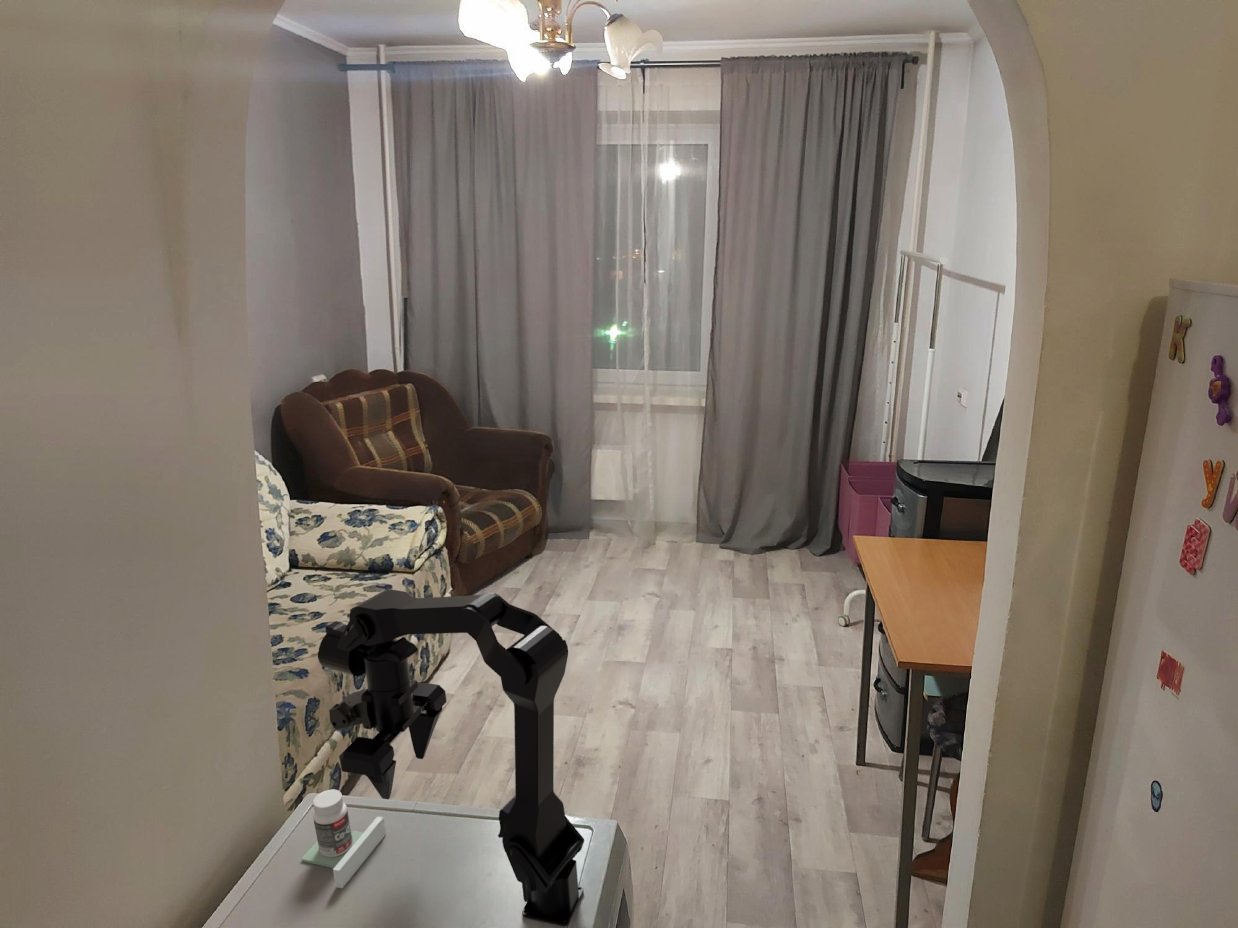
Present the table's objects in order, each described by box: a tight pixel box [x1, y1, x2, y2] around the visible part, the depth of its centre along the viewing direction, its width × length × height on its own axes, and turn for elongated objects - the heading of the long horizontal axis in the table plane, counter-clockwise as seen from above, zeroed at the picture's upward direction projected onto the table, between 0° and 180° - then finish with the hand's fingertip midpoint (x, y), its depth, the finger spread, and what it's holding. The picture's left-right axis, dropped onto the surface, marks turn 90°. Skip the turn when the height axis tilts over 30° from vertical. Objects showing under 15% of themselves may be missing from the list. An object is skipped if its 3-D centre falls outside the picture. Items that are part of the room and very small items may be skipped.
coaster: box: [300, 829, 364, 869], centre depth 126 cm, size 7×7×1 cm
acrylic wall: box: [332, 816, 387, 889], centre depth 123 cm, size 1×11×3 cm, turn 162°
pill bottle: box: [312, 789, 353, 857], centre depth 124 cm, size 5×5×8 cm
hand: (403, 777), depth 122 cm, fingers open, 9 cm apart
